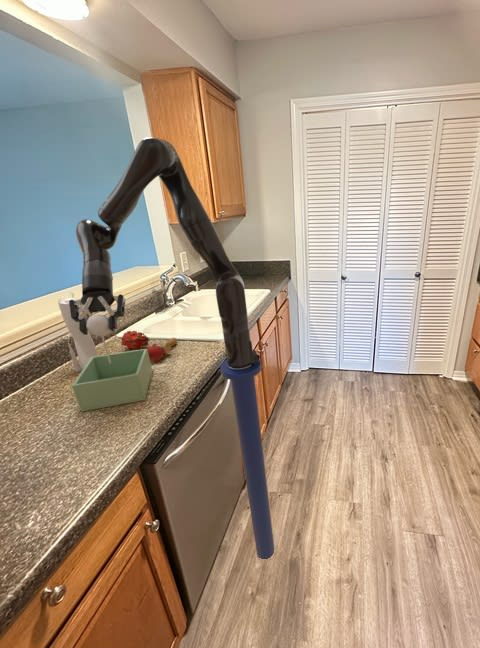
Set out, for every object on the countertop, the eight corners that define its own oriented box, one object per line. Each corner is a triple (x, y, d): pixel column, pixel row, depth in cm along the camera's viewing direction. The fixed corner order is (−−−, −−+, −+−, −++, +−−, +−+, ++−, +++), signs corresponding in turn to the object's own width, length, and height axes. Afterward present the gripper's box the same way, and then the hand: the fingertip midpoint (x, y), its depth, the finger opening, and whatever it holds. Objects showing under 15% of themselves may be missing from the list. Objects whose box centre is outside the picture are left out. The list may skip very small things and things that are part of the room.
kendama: (164, 347, 140) (140, 361, 123) (165, 333, 138) (140, 345, 121) (181, 350, 139) (159, 364, 122) (182, 336, 138) (160, 349, 120)
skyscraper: (81, 363, 126) (57, 293, 115) (104, 359, 128) (82, 290, 117) (75, 373, 119) (48, 299, 108) (100, 368, 121) (76, 296, 110)
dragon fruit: (124, 350, 139) (151, 354, 138) (112, 346, 131) (141, 351, 130) (129, 331, 141) (156, 335, 140) (118, 326, 132) (146, 330, 132)
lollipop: (121, 356, 99) (109, 310, 93) (122, 364, 94) (109, 316, 88) (98, 361, 96) (83, 314, 90) (97, 370, 91) (82, 320, 85)
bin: (152, 370, 118) (147, 348, 114) (144, 400, 100) (137, 374, 97) (99, 379, 113) (91, 356, 110) (81, 411, 96) (71, 385, 92)
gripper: (63, 275, 89) (62, 330, 84) (120, 270, 93) (122, 322, 87) (75, 289, 96) (75, 341, 90) (128, 284, 100) (131, 333, 94)
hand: (98, 331), depth 89 cm, fingers closed on lollipop, 6 cm apart
